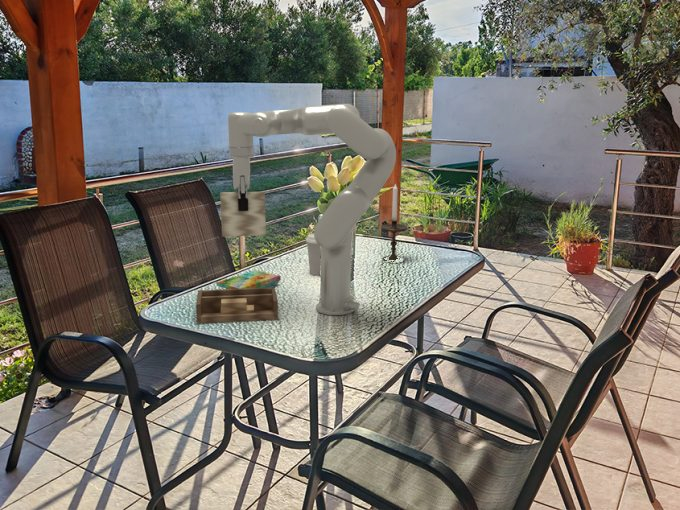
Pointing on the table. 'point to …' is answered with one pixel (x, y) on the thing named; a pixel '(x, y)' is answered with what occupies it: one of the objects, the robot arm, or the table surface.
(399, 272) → the table surface
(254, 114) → the robot arm
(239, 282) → the puzzle game
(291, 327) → the table surface
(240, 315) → the walnut rack
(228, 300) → the tan wooden block
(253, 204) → the birch sheet
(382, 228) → the candlestick
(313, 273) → the coffee cup
